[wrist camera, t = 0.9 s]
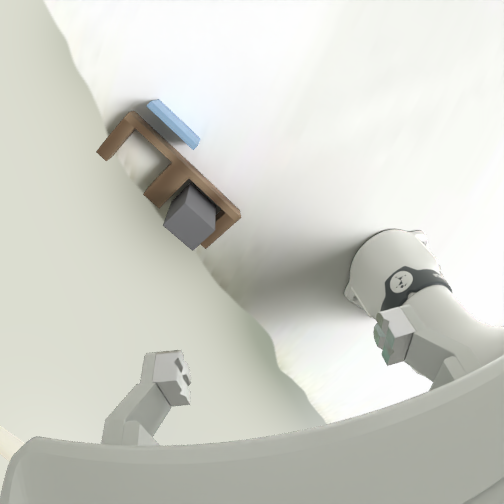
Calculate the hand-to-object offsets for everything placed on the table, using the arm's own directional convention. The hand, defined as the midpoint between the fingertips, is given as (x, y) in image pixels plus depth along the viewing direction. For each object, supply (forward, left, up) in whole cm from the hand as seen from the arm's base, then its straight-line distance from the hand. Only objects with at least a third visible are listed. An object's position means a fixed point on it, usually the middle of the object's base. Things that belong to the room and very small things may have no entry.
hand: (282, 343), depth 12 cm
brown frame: (+4, +7, -34) cm, 35 cm away
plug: (-1, +9, -34) cm, 35 cm away
